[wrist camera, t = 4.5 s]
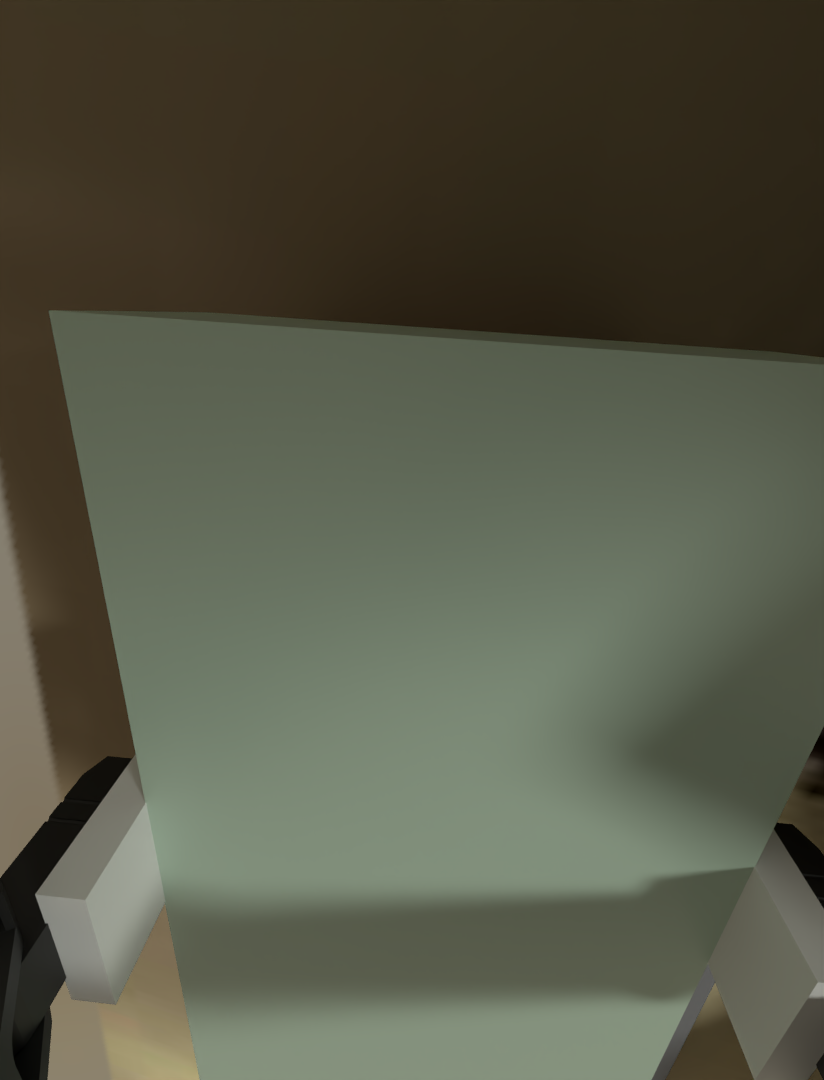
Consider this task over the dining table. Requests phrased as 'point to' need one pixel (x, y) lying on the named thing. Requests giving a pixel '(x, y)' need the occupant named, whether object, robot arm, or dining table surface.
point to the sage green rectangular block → (450, 674)
